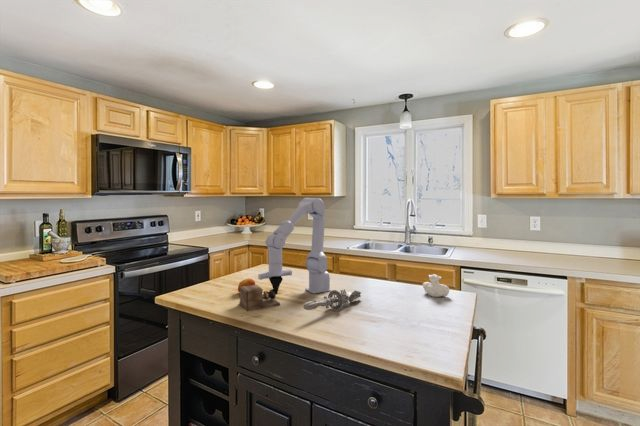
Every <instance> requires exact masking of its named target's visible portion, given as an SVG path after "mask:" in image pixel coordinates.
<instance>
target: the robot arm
mask: <svg viewBox="0 0 640 426" xmlns="http://www.w3.org/2000/svg"><path fill="white" fill-rule="evenodd" d="M325 207H326V206H325V202H324V201H323V200H322V199H321V198H319V197H304V198H302V199H301V201H299V202H298V206H297V207H296V209H295V210H294V211H293V213H292V214H291V216H290V217H289V218H288V220H283V221H281V222H280V225H279V226H278V227H277V228H276V229H275V230H273V233H270V234H269V235H267V238H266V239H265V241H264V242H265V245H266V246H267V250H268V255H267V256H268V272H267V271H266V272H263V273H262V272H261V273H258V274H257V275H258V276H257V277H258V280H260V281H261V280H263V279H268V280H269V282H270V284H271V286H272V289H274V290H275V294H276V295H278V292H279V288H280V285H281V284H282V281H283V277H287V276H292V275H293V270H291V269H287V270H284V269H283V247H285V244H286V241H287V238H288V237H289V236H290V235H291V234H292V232H293V231H294V230H295V227H294V226H295V225H296V223H298V221H299V220H301V219H302V217H304V216H305V215H307V214H309V215H310V216H311V217H312V219H313V220H312V221H313V222H312V236H311V250H310V252H309V253H308V254H307V257H306V260H305V267H306V269H307V271H308V287H306V288H305V290H306V291H308V292H310V293H311V294H314V295H315V294H318V293H319V294H320V293H326V292H331V289H330V285H331V284H330V282H331V281H330V279H331V278H330V277H331V276H330V274H329V272H328V271H327V270H328V267H329V264H328V261H327V260H328V257H327V255H326V254H325V252H324V241H325V240H324V239H325V225H326V224H325V223H326V212H325V211H326V210H325Z"/></svg>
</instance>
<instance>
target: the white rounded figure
mask: <svg viewBox="0 0 640 426" xmlns="http://www.w3.org/2000/svg"><path fill="white" fill-rule="evenodd" d="M428 278H429V281H430V282H429V281H425V282H422V284H421V286H422V288H423V289H424V292H425V293H426V294H427V295H429V296H431V297H433V298H434V297H435V298H438V297H448V296H449V293H450V288H449V286H448V285H446V284H441V283H440V281H439V280H441V279H442V276H439V275H437V274H435V273H432V274H428Z"/></svg>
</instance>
